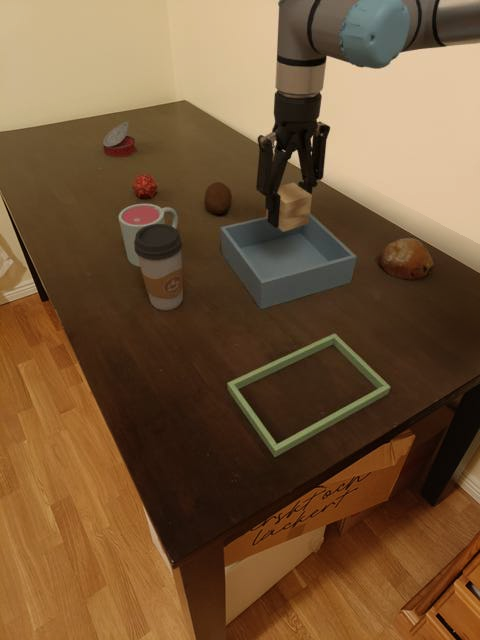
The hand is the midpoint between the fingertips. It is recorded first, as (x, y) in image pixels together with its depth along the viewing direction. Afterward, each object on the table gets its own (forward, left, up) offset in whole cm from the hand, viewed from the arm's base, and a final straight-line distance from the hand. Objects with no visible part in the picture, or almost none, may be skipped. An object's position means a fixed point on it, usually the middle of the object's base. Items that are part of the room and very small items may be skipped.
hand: (287, 219), depth 84 cm
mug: (+27, +10, -12) cm, 31 cm away
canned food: (+73, -26, -12) cm, 78 cm away
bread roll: (-22, -14, -12) cm, 29 cm away
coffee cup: (+14, +22, -12) cm, 29 cm away
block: (0, 0, 0) cm, 0 cm away
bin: (0, 0, -11) cm, 11 cm away
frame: (-19, +27, -11) cm, 35 cm away
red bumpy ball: (+46, -8, -12) cm, 48 cm away
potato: (+26, -13, -12) cm, 31 cm away
